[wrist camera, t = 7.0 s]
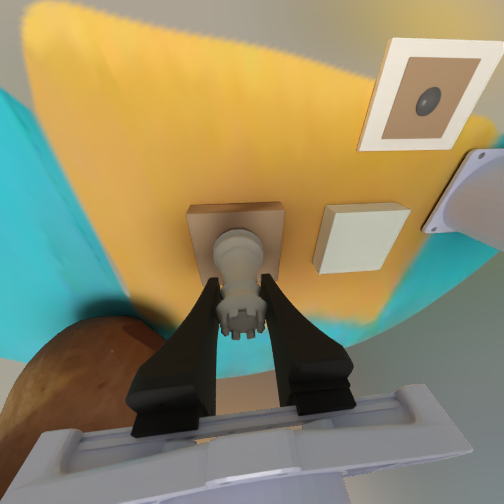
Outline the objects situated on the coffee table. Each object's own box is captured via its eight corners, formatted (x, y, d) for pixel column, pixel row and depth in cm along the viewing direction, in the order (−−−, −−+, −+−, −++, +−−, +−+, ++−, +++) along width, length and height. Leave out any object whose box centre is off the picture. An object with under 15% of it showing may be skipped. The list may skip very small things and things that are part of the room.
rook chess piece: (206, 232, 15) (188, 311, 9) (257, 221, 15) (278, 293, 9) (221, 271, 18) (216, 354, 11) (265, 261, 18) (285, 340, 11)
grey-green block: (394, 202, 18) (411, 209, 16) (368, 259, 22) (379, 269, 20) (325, 204, 17) (335, 213, 15) (312, 262, 21) (318, 274, 19)
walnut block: (279, 201, 16) (285, 210, 15) (274, 268, 21) (277, 280, 19) (190, 205, 16) (185, 214, 14) (204, 273, 20) (202, 286, 19)
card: (502, 43, 12) (514, 40, 11) (446, 148, 15) (453, 149, 15) (388, 40, 11) (395, 36, 11) (356, 150, 15) (360, 151, 14)
